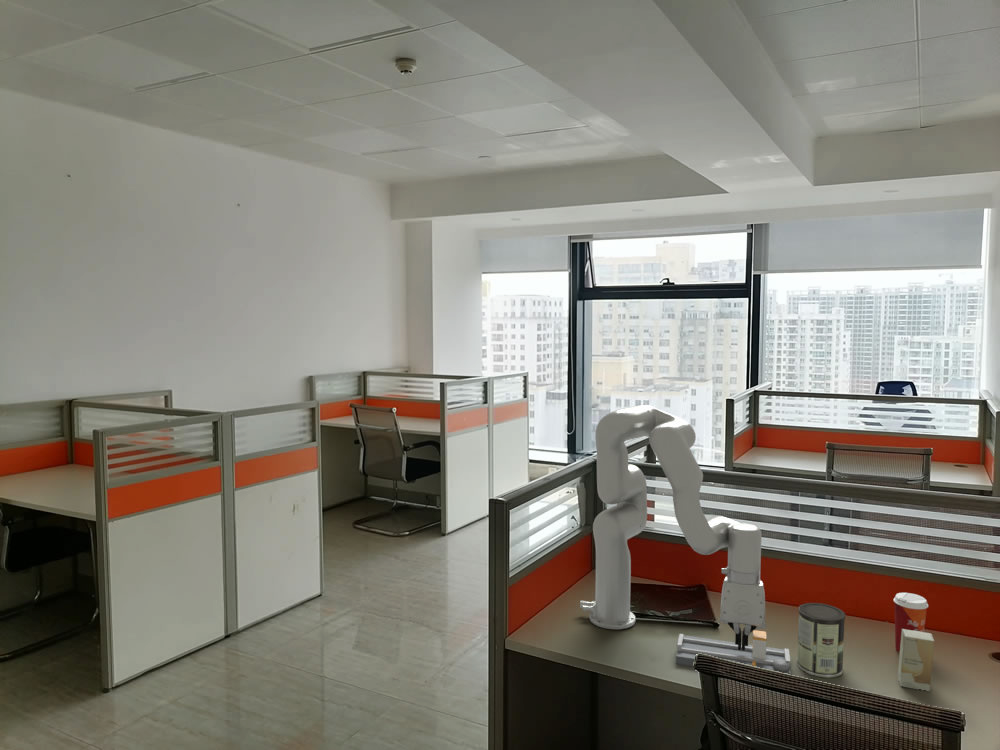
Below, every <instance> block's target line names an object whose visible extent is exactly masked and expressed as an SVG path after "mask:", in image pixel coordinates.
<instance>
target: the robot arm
mask: <svg viewBox="0 0 1000 750" xmlns="http://www.w3.org/2000/svg"><path fill="white" fill-rule="evenodd" d="M594 437H595V439H594V440H595V447H596V448H595V449H596V486H597V494H598V495H597V496H598V498H599V499H600V500H601V502H603V503H604V504H607V505H614V506H611V507H610V508H609V507H608V508H606V509H605V510H603V511H601V512H600V513H598V514H597V515H596V516H595V518H594V521H593V523H592V532H593V538H594V545H595V597H594V599H595V600H592V601H588V600H580V602H579V607H580V608H582V611H583V612H590V613H589V621H590V622H591V623H592V624H593V625H595V626H597V627H599V628H602V629H608V630H625V629H629V628H631V627H633V626H634V625H635V624H636V615H635V614H634V613H633V612H632V611H631V579H632V576H631V573H632V571H631V570H632V569H631V567H632V566H631V565H632V564H631V563H632V559H631V558H632V557H631V551H630V549H629V546H628V540H630V539H631V538H633V537H635V536H638V535H639V534H640V533H642V532H643V530H644V529H645V528H646V525H647V521H648V493H647V492H648V489H647V488H648V487H647V481H646V480H647V479H646V476H645V474H644V473H643V471H642V470H641V468H639V467H638V466H637V465H634V464H631V463H629V452H628V448H627V446H626V444H625V443H626V442H627V441H630V440H634V439H638V438H643V437H647V438H648V439H649V444H650V447H651V449H652V452H653V453H654V455H655V458H656V459H657V461H658V463H659V465H660V467H661V468H662V471H663V473H664V475H665V477H666V479H667V480H668V482H669V485H670V486H671V489H672V501H673V509H674V515H675V518H676V521H677V523H678V526H679V529H680V530H681V532H682V535H683V537H684V538H685V540H686V542H687V543H688V545H689V546H690V548H691V549H692V550H693V551H694V552H696V553H698V554H699V555H703V556H704V555H705V556H708V555H712V554H714V553H716V552H718V551H719V550H721V549H724V548H727V566H726V567H724V568H723V567H722V568H721V569H720V570H721V575H725V578H724V580H723V584H722V588H721V589H722V590H721V598H720V615H719V619H718V620H719V623H721V624H724V625H728V626H729V628H731V630H732V631H733V632H734V634H735V635H734V637H735V639H734V642H735V645H738V650H741V643H742V650H743V651H745V646H748V644H749V636H750V634H751V633H753V630H756V629H765V628H766V627H767V626H766V621H765V618H766V594H765V588H764V587H765V586H764V583H763V581H762V580H761V560H762V559H761V558H762V530H761V529H760V527H759V526H757V525H754V524H752V523H747V522H739V521H736V520H733V519H731V518H729V517H726V516H722V515H716V516H712V517H709V518H708V519H707V518H706V515H705V514H704V511H703V508H702V506H701V502H700V492H701V487H702V484H703V480H704V474H703V471H702V469H701V467H700V466H699V462H698V461H697V460H696V458H695V455H694V454H693V452H692V450H691V449H692V447H694V444H695V442H696V432H695V430H694V428H693V426H692V425H691V424H690V423H689V422H688V421H686V420H684V419H683V418H680V417H678V416H676V415H673V414H671V413H668V412H667V411H663V410H662V409H659V408H656V407H654V406H651V405H648V404H639V405H635V406H628V407H624V408H619V409H617V410H613V411H611V412H609V413H607V414H605V415H604V416H603V417H602V418H601V419H600V420H599V421H598V423H597V425H596V429H595V436H594ZM740 625H744V627H743V629H742V628H741V627H740Z"/></svg>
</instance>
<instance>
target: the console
mask: <svg viewBox="0 0 1000 750" xmlns="http://www.w3.org/2000/svg"><path fill="white" fill-rule="evenodd" d="M752 648H753V644H749V643H748V646H745V651H743V650H742V642H741V650H738V645H735V641H734V642H733V641H726V640H719V639H713V638H706V637H705V638H704V637H700V636H692V635H685V634H684V633H679V635H678V640H677V645H676V654H675V664H676V665H681V666H687V667H688V666H689V667H693V662H694V659H695V656H696V654H698V653H702V654H707V655H711V656H714V657H718V658H721V659H726V660H730V661H735V662H740V663H744V664H749V665H752V666H757V667H760V668H765V669H770V670H774V671H779V672H782V673H788V674H790V675H791V655H790V649H789V648H787V647H786V648H777V647H776V648H775V647H769V646H766V660H764V659H757V658H752Z"/></svg>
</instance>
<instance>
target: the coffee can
mask: <svg viewBox="0 0 1000 750" xmlns="http://www.w3.org/2000/svg"><path fill="white" fill-rule="evenodd" d="M845 620H846V613H845V612H844V611H843V610H842V609H841V608H838V607H837V606H833V605H830V604H826V603H821V602H819V603H818V602H806V603H802V604H801V605H799V606H798V632H797V636H798V637H797V661H796V664H798V665H797V666H799V667H800V668H799V667H798V668H799V669H800V670H801V669H802V671H803V672H804V671H805V673H807V674H809V675H812V676H815V677H820V678H829V679H830V678H837V677H839V676H841V675H842V674H843V672H844V670H843V668H844V667H843V664H844V661H843V660H844V638H845V635H844V634H845Z"/></svg>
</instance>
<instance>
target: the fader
mask: <svg viewBox="0 0 1000 750" xmlns="http://www.w3.org/2000/svg"><path fill="white" fill-rule="evenodd" d="M752 645H753V648H752V658H757V659H764V660H766V647H767V631H762V630H756V629H755V630H753V631H752Z"/></svg>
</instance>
